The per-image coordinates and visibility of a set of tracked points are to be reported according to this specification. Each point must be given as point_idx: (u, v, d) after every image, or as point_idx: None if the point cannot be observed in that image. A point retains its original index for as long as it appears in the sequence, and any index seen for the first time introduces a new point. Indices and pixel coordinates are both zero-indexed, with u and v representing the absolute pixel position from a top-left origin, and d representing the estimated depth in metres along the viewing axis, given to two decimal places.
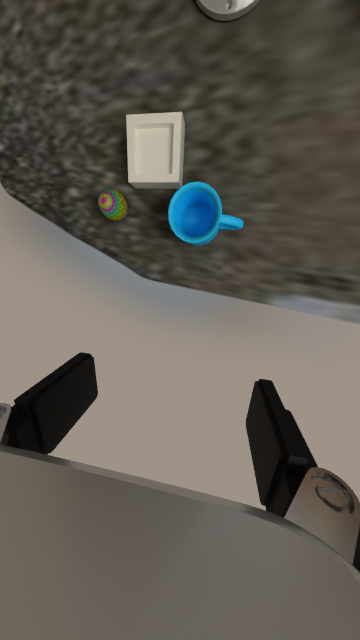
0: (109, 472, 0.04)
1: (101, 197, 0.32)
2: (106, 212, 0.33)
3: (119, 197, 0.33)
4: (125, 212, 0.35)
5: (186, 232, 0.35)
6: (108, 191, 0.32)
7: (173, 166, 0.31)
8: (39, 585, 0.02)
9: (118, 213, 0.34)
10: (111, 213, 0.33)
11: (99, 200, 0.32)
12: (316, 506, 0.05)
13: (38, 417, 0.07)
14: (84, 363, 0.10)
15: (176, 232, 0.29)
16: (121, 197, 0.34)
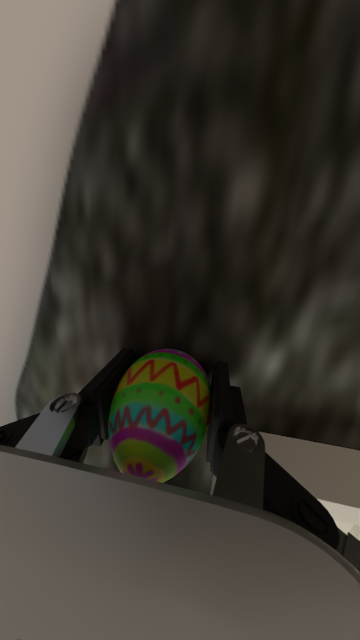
0: (109, 472, 0.04)
1: (153, 470, 0.06)
2: (109, 438, 0.07)
3: None
4: None
5: None
6: (191, 458, 0.07)
7: None
8: (39, 585, 0.02)
9: None
10: None
11: (142, 452, 0.06)
12: (237, 455, 0.06)
13: (101, 405, 0.08)
14: (129, 358, 0.11)
15: None
16: None
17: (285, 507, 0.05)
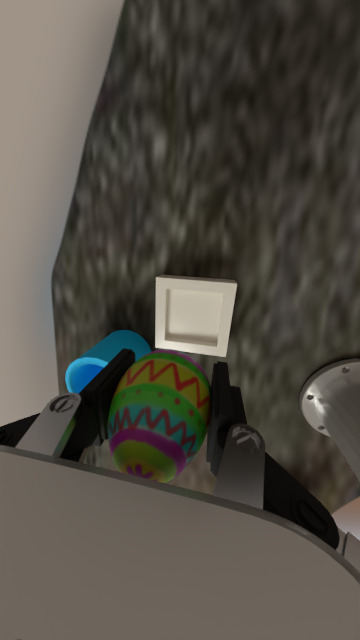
0: (109, 472, 0.04)
1: (152, 471, 0.06)
2: (108, 439, 0.07)
3: None
4: None
5: None
6: (191, 459, 0.07)
7: (172, 342, 0.23)
8: (39, 585, 0.02)
9: None
10: None
11: (142, 453, 0.06)
12: (237, 455, 0.06)
13: (101, 405, 0.08)
14: (129, 358, 0.11)
15: (73, 365, 0.21)
16: None
17: (285, 507, 0.05)
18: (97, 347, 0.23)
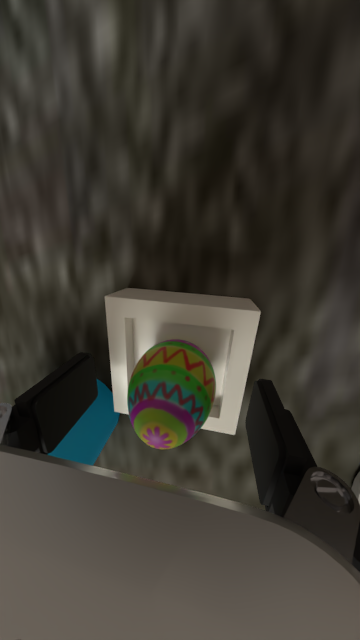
0: (109, 472, 0.04)
1: (168, 433, 0.07)
2: (129, 411, 0.09)
3: None
4: None
5: None
6: (199, 428, 0.09)
7: None
8: (39, 585, 0.02)
9: None
10: None
11: (159, 418, 0.07)
12: (315, 506, 0.05)
13: (39, 417, 0.07)
14: (84, 363, 0.10)
15: None
16: None
17: None
18: None
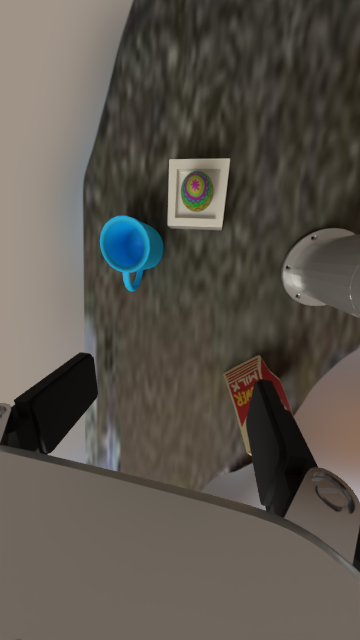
0: (109, 472, 0.04)
1: (198, 181, 0.24)
2: (184, 185, 0.25)
3: (201, 205, 0.27)
4: (189, 209, 0.29)
5: (130, 235, 0.34)
6: (207, 190, 0.25)
7: (180, 219, 0.30)
8: (39, 585, 0.02)
9: (185, 202, 0.27)
10: (183, 192, 0.26)
11: (196, 177, 0.24)
12: (316, 506, 0.05)
13: (38, 417, 0.07)
14: (84, 363, 0.10)
15: (107, 225, 0.28)
16: (203, 206, 0.27)
17: None
18: None
